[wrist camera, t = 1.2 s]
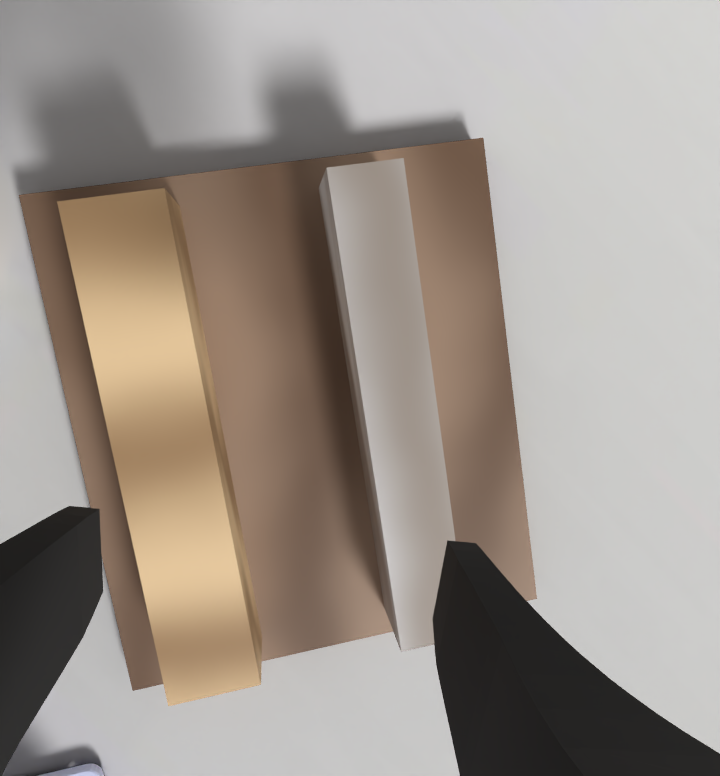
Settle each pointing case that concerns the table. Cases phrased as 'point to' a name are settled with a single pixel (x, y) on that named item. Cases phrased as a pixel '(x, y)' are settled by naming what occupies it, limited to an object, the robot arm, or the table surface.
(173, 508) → the oak bar
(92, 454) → the stand
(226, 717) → the table surface
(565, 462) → the table surface
